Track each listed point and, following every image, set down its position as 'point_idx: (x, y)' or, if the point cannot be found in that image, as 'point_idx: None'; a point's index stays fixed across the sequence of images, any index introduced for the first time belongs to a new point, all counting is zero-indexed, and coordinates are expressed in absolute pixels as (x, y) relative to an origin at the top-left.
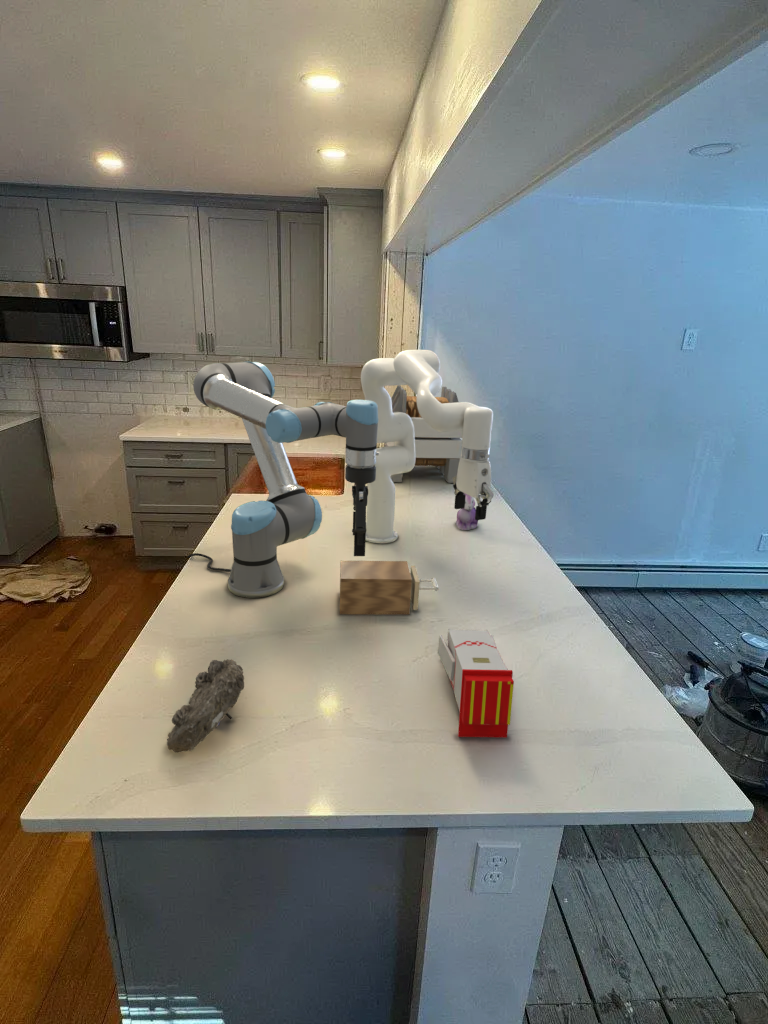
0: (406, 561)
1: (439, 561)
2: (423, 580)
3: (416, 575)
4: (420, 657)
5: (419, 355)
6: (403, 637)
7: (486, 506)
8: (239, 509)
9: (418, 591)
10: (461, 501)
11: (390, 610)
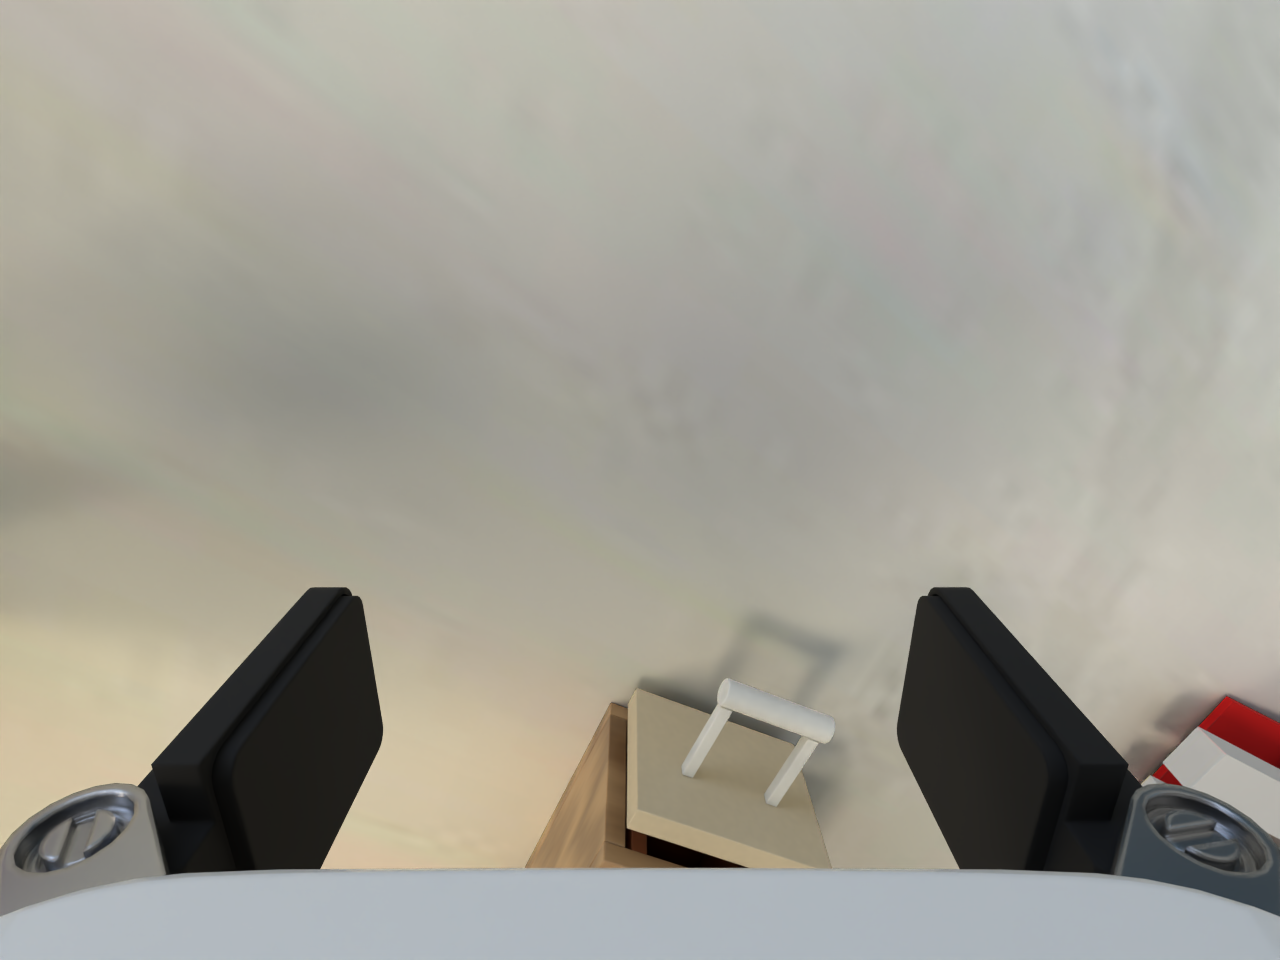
0: (605, 864)
1: (276, 320)
2: (712, 744)
3: (758, 857)
4: None
5: None
6: (913, 846)
7: (1104, 750)
8: None
9: (816, 825)
10: (316, 750)
11: None
